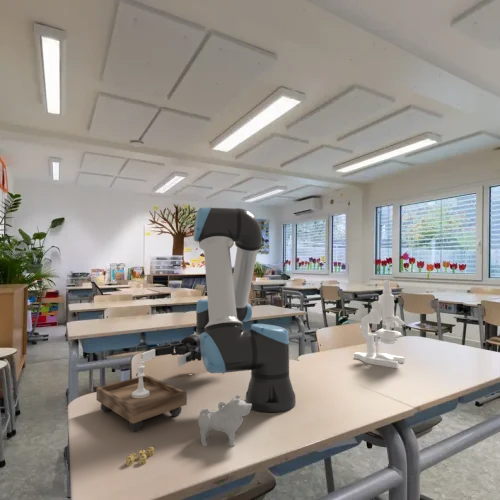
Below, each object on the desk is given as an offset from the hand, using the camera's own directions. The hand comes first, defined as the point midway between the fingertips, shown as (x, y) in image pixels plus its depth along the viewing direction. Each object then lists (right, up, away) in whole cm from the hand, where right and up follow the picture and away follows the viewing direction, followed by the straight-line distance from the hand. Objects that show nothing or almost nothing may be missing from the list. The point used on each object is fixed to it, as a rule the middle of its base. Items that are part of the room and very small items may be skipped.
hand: (160, 360), depth 108 cm
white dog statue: (+22, -12, -25) cm, 35 cm away
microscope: (+83, -14, +41) cm, 94 cm away
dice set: (+4, -12, -33) cm, 35 cm away
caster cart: (-3, -12, -9) cm, 16 cm away
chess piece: (-3, -7, -9) cm, 12 cm away
